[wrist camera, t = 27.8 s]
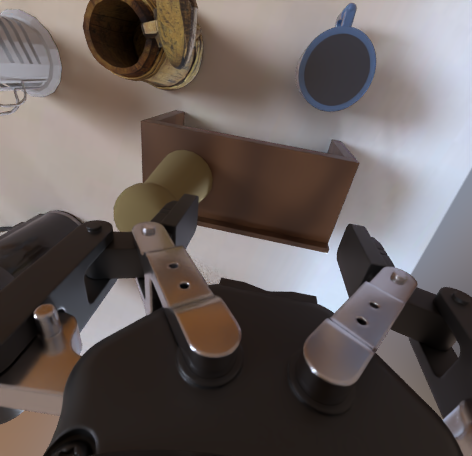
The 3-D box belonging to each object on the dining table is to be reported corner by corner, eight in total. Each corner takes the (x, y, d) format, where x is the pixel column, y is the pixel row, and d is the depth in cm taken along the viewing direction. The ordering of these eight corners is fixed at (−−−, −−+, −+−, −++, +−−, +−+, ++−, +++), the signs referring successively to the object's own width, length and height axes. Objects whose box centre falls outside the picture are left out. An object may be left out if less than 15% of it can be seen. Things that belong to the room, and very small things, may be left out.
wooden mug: (242, 85, 33) (204, 94, 18) (140, 91, 35) (26, 103, 20) (238, -9, 29) (184, -108, 13) (122, 5, 31) (-40, -67, 15)
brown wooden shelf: (173, 180, 41) (138, 212, 31) (175, 110, 36) (135, 122, 26) (317, 210, 39) (327, 253, 30) (341, 141, 34) (362, 166, 25)
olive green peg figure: (177, 137, 27) (119, 169, 18) (223, 175, 28) (192, 224, 19) (149, 180, 30) (87, 227, 21) (193, 213, 31) (153, 271, 22)
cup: (289, 98, 33) (290, 104, 25) (308, 13, 29) (317, -10, 21) (341, 107, 32) (359, 117, 25) (368, 23, 28) (400, 3, 20)
